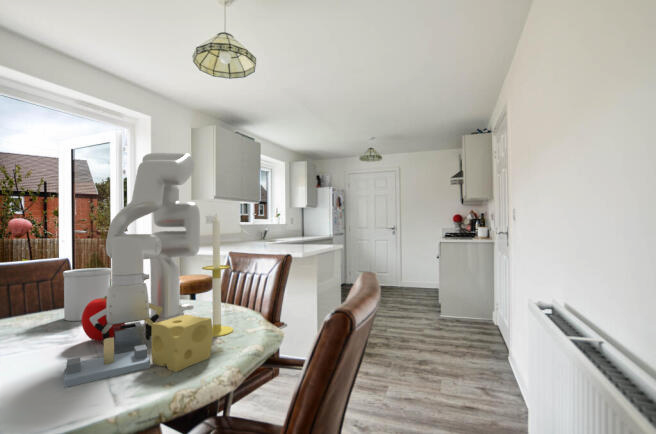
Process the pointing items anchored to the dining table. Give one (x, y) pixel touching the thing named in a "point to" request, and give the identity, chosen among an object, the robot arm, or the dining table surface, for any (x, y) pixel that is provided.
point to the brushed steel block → (127, 337)
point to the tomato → (93, 309)
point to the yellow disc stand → (217, 283)
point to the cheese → (181, 341)
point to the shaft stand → (106, 364)
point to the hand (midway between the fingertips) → (128, 342)
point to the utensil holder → (83, 289)
